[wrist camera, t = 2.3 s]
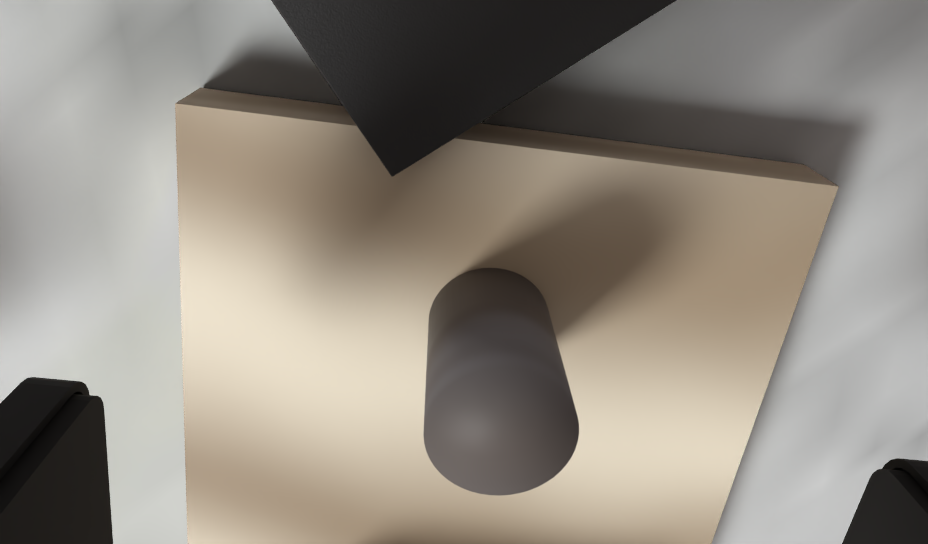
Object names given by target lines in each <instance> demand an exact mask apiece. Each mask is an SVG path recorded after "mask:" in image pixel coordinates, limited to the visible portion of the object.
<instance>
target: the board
mask: <svg viewBox="0 0 928 544" xmlns="http://www.w3.org/2000/svg"><path fill="white" fill-rule="evenodd" d="M175 111H176V147H177V182H178V217H179V253H180V288H181V324H182V359H183V395H184V430H185V465H186V501H187V536H188V544H711V543H712V540H713V537H714V534H715V532H716V529H717V526H718V523H719V520H720V517H721V515H722V512H723V509H724V506H725V503H726V501H727V498H728V495H729V492H730V489H731V487H732V484H733V481H734V478H735V475H736V473H737V470H738V467H739V464H740V461H741V459H742V456H743V453H744V450H745V447H746V445H747V442H748V439H749V436H750V433H751V431H752V428H753V425H754V422H755V419H756V417H757V414H758V411H759V408H760V405H761V403H762V400H763V397H764V394H765V391H766V389H767V386H768V383H769V380H770V377H771V375H772V372H773V369H774V366H775V363H776V361H777V358H778V355H779V352H780V349H781V347H782V344H783V341H784V338H785V335H786V333H787V330H788V327H789V324H790V321H791V319H792V316H793V313H794V310H795V307H796V305H797V302H798V299H799V296H800V293H801V291H802V288H803V285H804V282H805V279H806V277H807V274H808V271H809V268H810V265H811V263H812V260H813V257H814V254H815V251H816V249H817V246H818V243H819V240H820V237H821V235H822V232H823V229H824V226H825V223H826V221H827V218H828V215H829V212H830V209H831V207H832V204H833V201H834V198H835V195H836V193H837V190H838V187H839V186H837V185H835V184H834V183H832V182H831V181H829V180H828V179H826V178H825V177H823V176H821V175H820V174H818V173H817V172H815V171H814V170H812V169H810V168H809V167H807V166H806V165H804V164H796V163H788V162H780V161H773V160H765V159H757V158H749V157H741V156H733V155H725V154H718V153H710V152H702V151H694V150H686V149H678V148H670V147H663V146H655V145H647V144H639V143H631V142H623V141H615V140H607V139H600V138H592V137H584V136H576V135H568V134H560V133H552V132H545V131H537V130H529V129H521V128H513V127H505V126H497V125H490V124H482V123H478V124H477V125H475V126H474V127H472V128H470V129H469V130H467V131H466V132H464V133H462V134H461V135H459V136H458V137H456V138H454V139H453V140H451V141H449V142H448V143H446V144H445V145H443V146H441V147H440V148H438V149H437V150H435V151H433V152H432V153H430V154H429V155H427V156H425V157H424V158H422V159H421V160H419V161H417V162H416V163H414V164H413V165H411V166H409V167H408V168H406V169H404V170H403V171H401V172H400V173H398V174H396V175H395V176H391V175H390V174H389V172H388V171H387V169H386V168H385V166H384V165H383V163H382V162H381V160H380V159H379V157H378V156H377V155H376V153H375V152H374V150H373V149H372V147H371V146H370V144H369V143H368V141H367V140H366V138H365V137H364V135H363V134H362V133H361V131H360V130H359V128H358V127H357V125H356V124H355V122H354V121H353V119H352V118H351V116H350V115H349V113H348V112H347V111H346V109H345V108H344V106H340V105H332V104H324V103H317V102H309V101H301V100H293V99H285V98H277V97H269V96H262V95H254V94H246V93H238V92H230V91H222V90H214V89H206V88H199V89H198V90H196V91H194V92H193V93H191V94H190V95H188V96H186V97H185V98H183V99H182V100H180V101H178V102H177V103H175Z"/></svg>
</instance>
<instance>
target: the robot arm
mask: <svg viewBox="0 0 928 544" xmlns="http://www.w3.org/2000/svg"><path fill="white" fill-rule="evenodd" d="M0 544H113V537H112V522H111V507H110V492H109V477H108V462H107V447H106V432H105V417H104V406H103V402H102V399H101V398H100V397H98V396H91V395H89V390H88V388H87V386H86V384H84V383H83V382H79V381H68V380H57V379H47V378H36V377H31V378H27V379H25V380H24V381H23V382H21V383H20V384H19V385H18V386H17V387H16V388H15V389H14V390H13V391H12V392H11V393H10V394H9V395H8V396H7V397H6V398H5V399H4V400H3V401H2V402H1V403H0ZM842 544H928V461H919V460H909V459H893V460H890V461H889V462H888V463H886V464H885V465H884V467H883V469H879V470H877V471H875V472H874V473H873V474H872V476H871V477H870V479H869V482H868V484H867V486H866V489H865V491H864V493H863V496H862V498H861V501H860V503H859V505H858V508H857V510H856V512H855V515H854V517H853V519H852V522H851V524H850V526H849V529H848V531H847V534H846V536H845V538H844V541H843V543H842Z"/></svg>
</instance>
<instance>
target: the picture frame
mask: <svg viewBox="0 0 928 544" xmlns="http://www.w3.org/2000/svg"><path fill="white" fill-rule="evenodd" d="M271 1H272V2H273V4H274V5H275V6H276V8H277V9H278V11H279V12H280V14H281V15H282V17H283V18H284V20H285V21H286V23H287V24H288V26H289V27H290V28H291V30H292V31H293V33H294V34H295V36H296V37H297V39H298V40H299V42H300V43H301V45H302V46H303V48H304V49H305V50H306V52H307V53H308V55H309V56H310V58H311V59H312V61H313V62H314V64H315V65H316V67H317V68H318V70H319V71H320V72H321V74H322V75H323V77H324V78H325V80H326V81H327V83H328V84H329V86H330V87H331V89H332V90H333V92H334V93H335V94H336V96H337V97H338V99H339V100H340V102H341V103H342V105H343V106H344V108H345V109H346V111H347V112H348V113H349V115H350V116H351V118H352V119H353V121H354V122H355V124H356V125H357V127H358V128H359V130H360V131H361V133H362V134H363V135H364V137H365V138H366V140H367V141H368V143H369V144H370V146H371V147H372V149H373V150H374V152H375V153H376V155H377V156H378V157H379V159H380V160H381V162H382V163H383V165H384V166H385V168H386V169H387V171H388V172H389V174H390V175H391V176H395V175H396V174H398V173H400V172H401V171H403V170H404V169H406V168H408V167H409V166H411V165H413V164H414V163H416V162H417V161H419V160H421V159H422V158H424V157H425V156H427V155H429V154H430V153H432V152H433V151H435V150H437V149H438V148H440V147H441V146H443V145H445V144H446V143H448V142H449V141H451V140H453V139H454V138H456V137H458V136H459V135H461V134H462V133H464V132H466V131H467V130H469V129H470V128H472V127H474V126H475V125H477V124H478V123H480V122H482V121H483V120H485V119H486V118H488V117H490V116H491V115H493V114H495V113H496V112H498V111H499V110H501V109H503V108H504V107H506V106H507V105H509V104H511V103H512V102H514V101H515V100H517V99H519V98H520V97H522V96H523V95H525V94H527V93H528V92H530V91H531V90H533V89H535V88H536V87H538V86H540V85H541V84H543V83H544V82H546V81H548V80H549V79H551V78H552V77H554V76H556V75H557V74H559V73H560V72H562V71H564V70H565V69H567V68H568V67H570V66H572V65H573V64H575V63H576V62H578V61H580V60H581V59H583V58H585V57H586V56H588V55H589V54H591V53H593V52H594V51H596V50H597V49H599V48H601V47H602V46H604V45H605V44H607V43H609V42H610V41H612V40H613V39H615V38H617V37H618V36H620V35H621V34H623V33H625V32H626V31H628V30H630V29H631V28H633V27H634V26H636V25H638V24H639V23H641V22H642V21H644V20H646V19H647V18H649V17H650V16H652V15H654V14H655V13H657V12H658V11H660V10H662V9H663V8H665V7H666V6H668V5H670V4H671V3H673V2H675V1H676V0H271Z"/></svg>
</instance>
